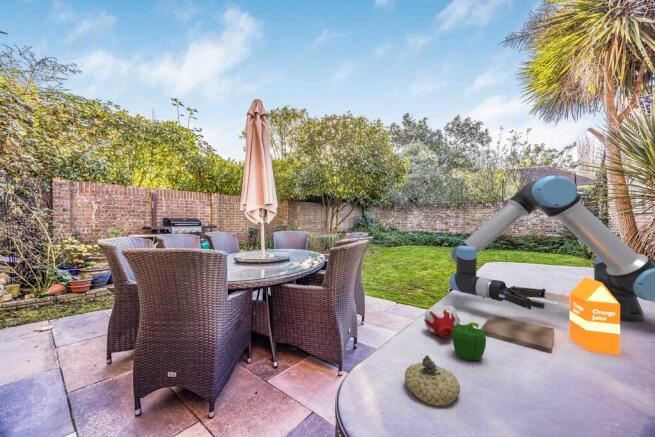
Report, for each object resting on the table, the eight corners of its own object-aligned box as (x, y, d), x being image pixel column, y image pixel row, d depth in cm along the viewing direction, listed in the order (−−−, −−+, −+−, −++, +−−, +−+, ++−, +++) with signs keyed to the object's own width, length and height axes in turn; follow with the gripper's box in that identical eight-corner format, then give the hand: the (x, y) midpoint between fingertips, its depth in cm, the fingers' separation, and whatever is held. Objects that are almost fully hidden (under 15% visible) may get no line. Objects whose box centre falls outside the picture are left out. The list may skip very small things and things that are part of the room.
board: (554, 333, 88) (554, 328, 88) (551, 353, 74) (551, 348, 74) (491, 318, 100) (491, 314, 100) (479, 334, 87) (480, 329, 87)
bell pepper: (444, 352, 75) (444, 317, 75) (464, 346, 78) (464, 313, 78) (471, 368, 67) (471, 329, 67) (492, 360, 71) (492, 324, 71)
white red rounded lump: (454, 324, 93) (467, 351, 78) (420, 321, 95) (427, 347, 81) (455, 300, 92) (469, 323, 77) (421, 298, 94) (428, 319, 79)
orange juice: (599, 340, 82) (600, 277, 82) (620, 355, 74) (621, 284, 74) (568, 337, 85) (569, 275, 85) (585, 350, 76) (586, 282, 76)
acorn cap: (399, 374, 65) (398, 362, 58) (438, 357, 66) (442, 343, 59) (420, 421, 58) (422, 413, 51) (464, 401, 59) (472, 391, 52)
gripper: (504, 293, 109) (573, 307, 92) (476, 305, 94) (553, 325, 77) (504, 275, 109) (573, 286, 92) (477, 284, 94) (553, 299, 77)
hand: (564, 304), depth 84 cm, fingers open, 13 cm apart
